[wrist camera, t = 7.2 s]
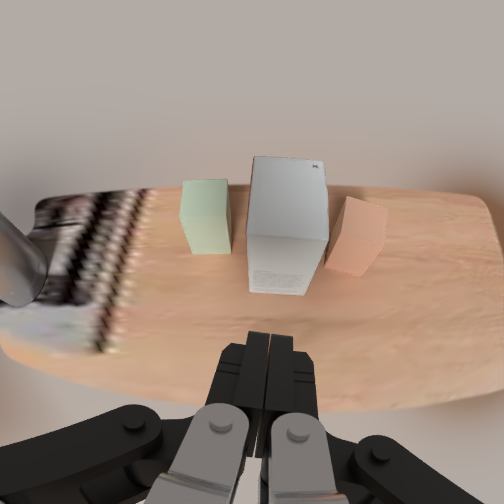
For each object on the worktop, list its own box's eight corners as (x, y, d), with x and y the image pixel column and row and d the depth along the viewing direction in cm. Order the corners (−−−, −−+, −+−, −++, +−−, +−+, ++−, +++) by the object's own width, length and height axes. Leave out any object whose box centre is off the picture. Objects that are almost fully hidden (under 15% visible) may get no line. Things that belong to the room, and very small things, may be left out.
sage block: (192, 254, 36) (179, 217, 29) (195, 221, 38) (183, 180, 31) (231, 253, 36) (225, 215, 29) (231, 220, 38) (227, 178, 31)
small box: (252, 229, 38) (253, 153, 26) (305, 233, 37) (326, 159, 26) (247, 293, 34) (244, 234, 22) (305, 297, 34) (332, 240, 22)
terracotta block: (323, 267, 35) (340, 232, 28) (330, 235, 37) (346, 195, 30) (360, 277, 35) (384, 245, 28) (364, 244, 37) (387, 208, 30)
